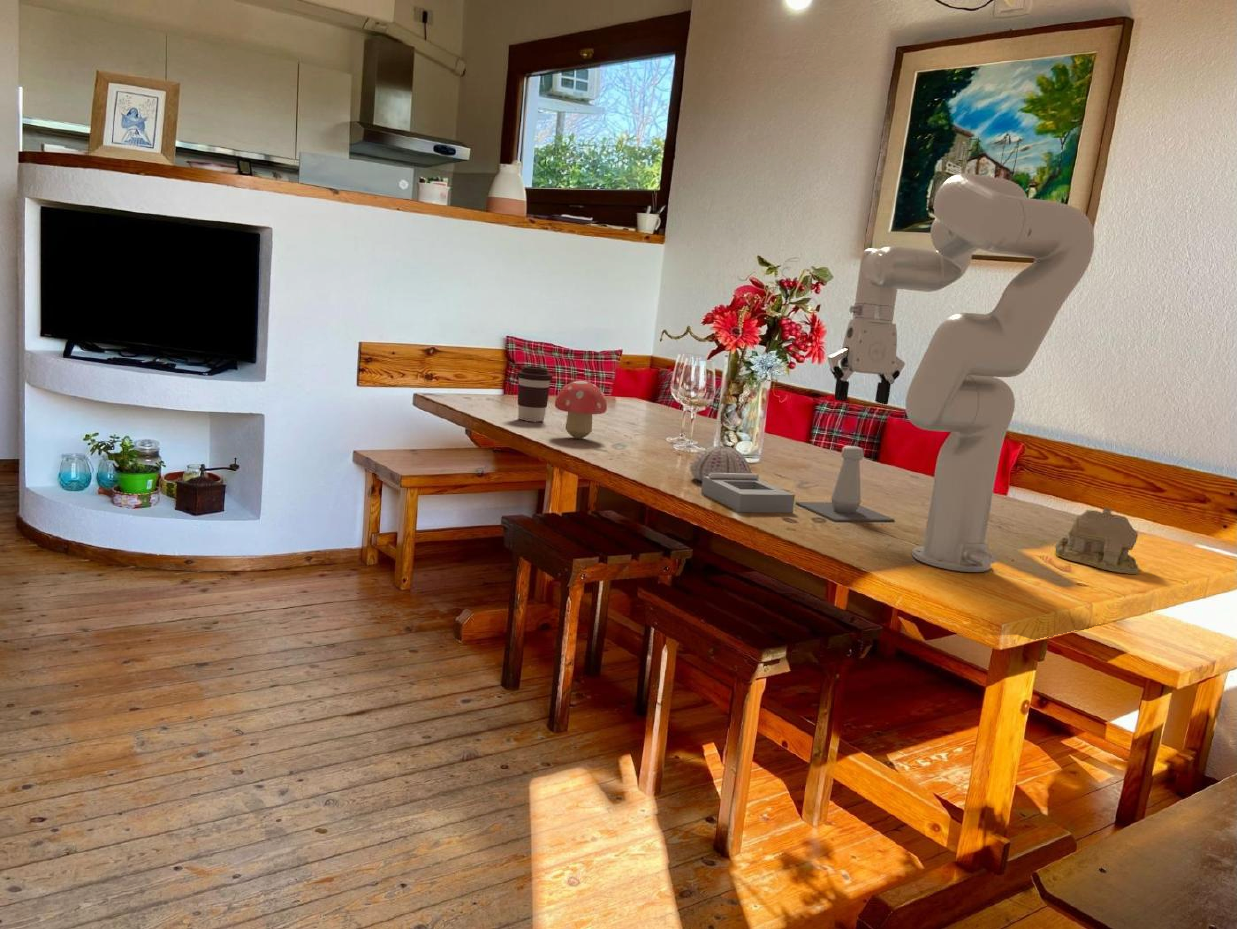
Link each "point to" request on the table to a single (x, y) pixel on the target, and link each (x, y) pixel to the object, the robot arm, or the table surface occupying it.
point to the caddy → (746, 493)
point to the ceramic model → (1100, 542)
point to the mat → (829, 512)
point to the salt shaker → (848, 481)
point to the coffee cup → (533, 392)
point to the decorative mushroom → (580, 406)
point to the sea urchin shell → (719, 462)
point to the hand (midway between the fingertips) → (861, 402)
